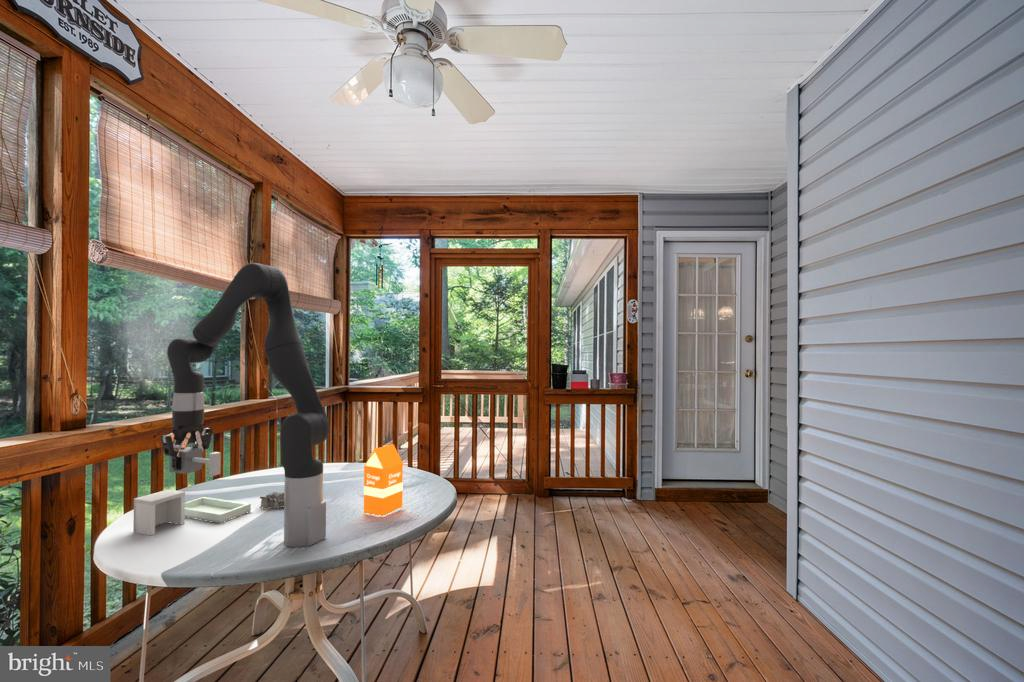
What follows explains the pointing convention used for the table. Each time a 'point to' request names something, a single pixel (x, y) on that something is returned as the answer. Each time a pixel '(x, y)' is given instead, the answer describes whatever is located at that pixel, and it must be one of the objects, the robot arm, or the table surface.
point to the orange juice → (383, 481)
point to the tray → (215, 509)
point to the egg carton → (272, 500)
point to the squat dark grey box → (197, 461)
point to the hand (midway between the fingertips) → (187, 467)
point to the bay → (158, 510)
